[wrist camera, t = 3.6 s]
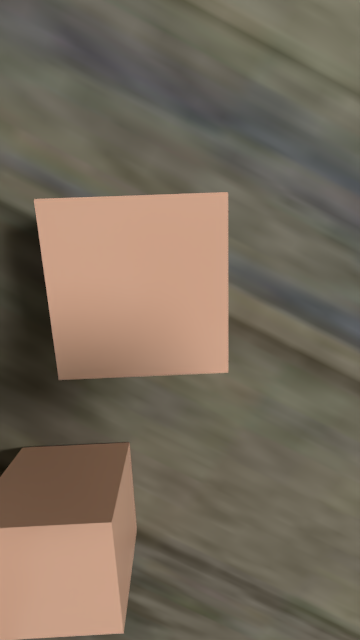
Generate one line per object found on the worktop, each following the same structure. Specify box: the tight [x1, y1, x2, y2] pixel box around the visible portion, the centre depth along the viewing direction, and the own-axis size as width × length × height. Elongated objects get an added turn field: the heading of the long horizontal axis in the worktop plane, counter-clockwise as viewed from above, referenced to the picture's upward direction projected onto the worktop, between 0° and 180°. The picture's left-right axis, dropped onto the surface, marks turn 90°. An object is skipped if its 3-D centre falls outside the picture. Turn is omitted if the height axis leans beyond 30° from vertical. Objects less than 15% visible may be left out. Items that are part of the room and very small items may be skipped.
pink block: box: [34, 192, 228, 380], centre depth 13 cm, size 6×6×6 cm
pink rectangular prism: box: [0, 442, 137, 640], centre depth 16 cm, size 6×6×6 cm
